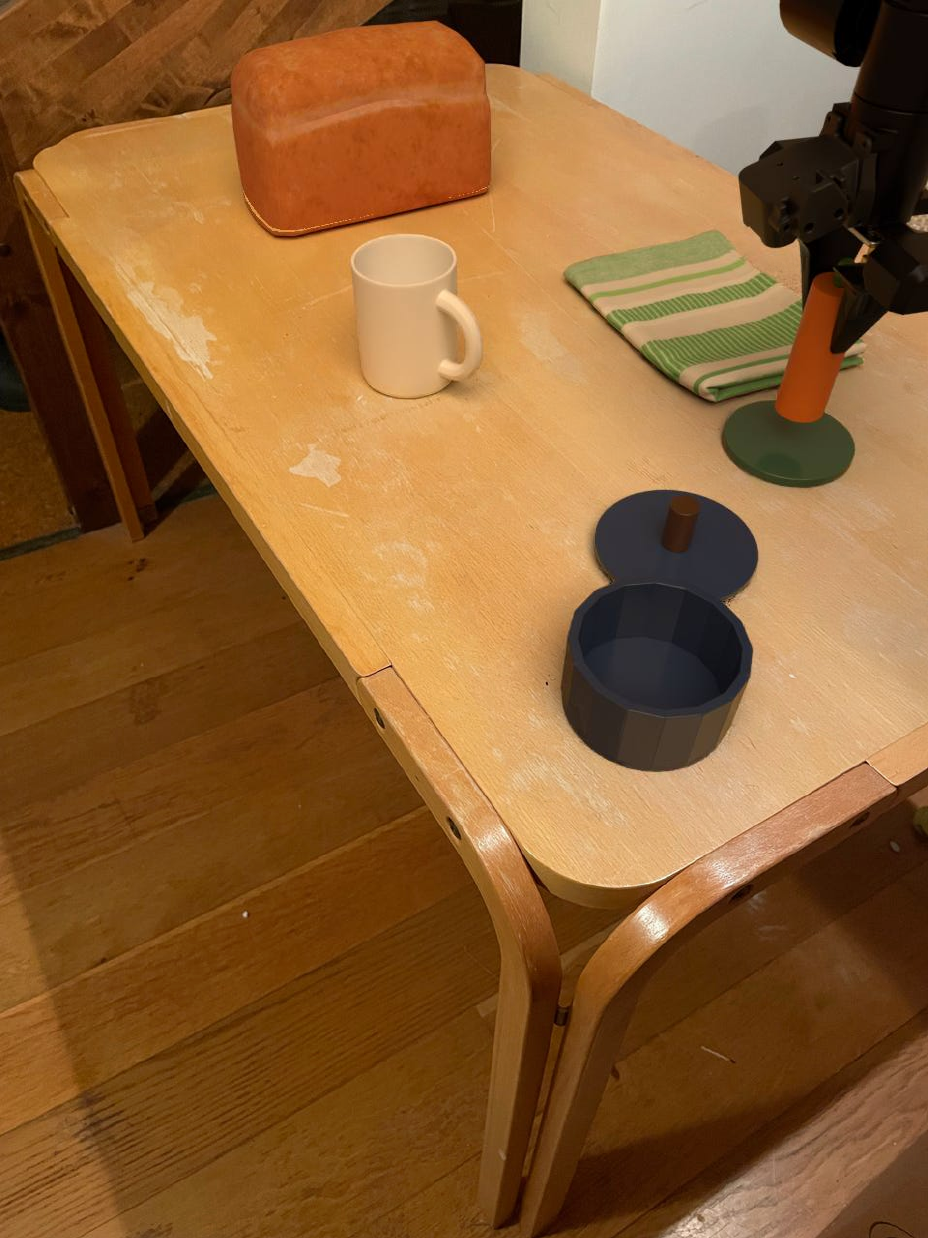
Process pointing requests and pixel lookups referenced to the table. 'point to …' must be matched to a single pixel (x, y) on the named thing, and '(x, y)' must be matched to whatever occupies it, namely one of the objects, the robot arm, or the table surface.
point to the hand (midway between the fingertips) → (823, 337)
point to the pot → (654, 672)
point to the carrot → (813, 353)
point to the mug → (411, 316)
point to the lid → (677, 541)
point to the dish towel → (699, 313)
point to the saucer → (787, 446)
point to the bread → (360, 124)
